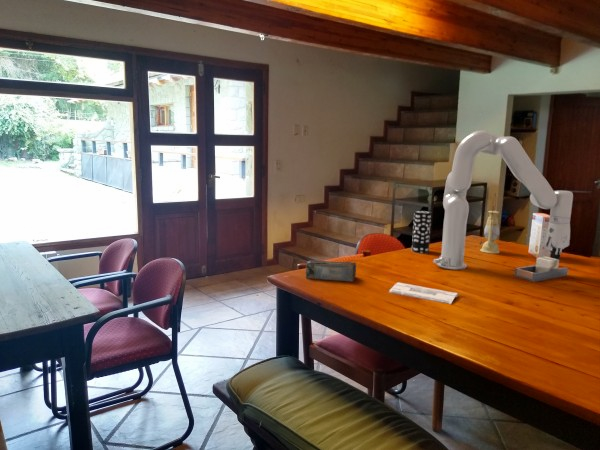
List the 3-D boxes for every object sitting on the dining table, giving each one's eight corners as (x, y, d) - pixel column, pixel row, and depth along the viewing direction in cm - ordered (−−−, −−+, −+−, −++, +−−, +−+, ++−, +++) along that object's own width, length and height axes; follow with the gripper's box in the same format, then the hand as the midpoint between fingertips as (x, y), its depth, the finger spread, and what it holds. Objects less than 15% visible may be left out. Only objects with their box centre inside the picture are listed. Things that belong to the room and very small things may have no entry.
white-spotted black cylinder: (427, 249, 233) (429, 211, 230) (430, 253, 225) (432, 213, 222) (410, 249, 234) (413, 210, 231) (412, 252, 226) (415, 212, 223)
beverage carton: (309, 273, 186) (309, 257, 185) (356, 277, 182) (356, 261, 181) (305, 278, 179) (305, 262, 178) (354, 282, 175) (354, 266, 174)
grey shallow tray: (534, 281, 180) (535, 273, 180) (514, 276, 188) (514, 268, 188) (567, 275, 191) (568, 267, 190) (546, 270, 199) (547, 262, 198)
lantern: (480, 248, 240) (485, 191, 235) (500, 250, 235) (506, 192, 230) (477, 252, 230) (482, 193, 225) (498, 255, 225) (504, 194, 220)
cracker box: (551, 260, 217) (556, 217, 213) (537, 259, 218) (542, 216, 214) (540, 253, 230) (545, 212, 227) (527, 253, 231) (532, 212, 228)
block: (548, 275, 187) (550, 261, 186) (535, 271, 192) (536, 257, 191) (557, 273, 190) (559, 259, 189) (543, 270, 195) (545, 256, 194)
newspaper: (458, 296, 163) (459, 289, 162) (450, 309, 153) (451, 302, 152) (397, 284, 174) (398, 278, 174) (386, 296, 164) (386, 290, 164)
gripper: (557, 222, 183) (552, 267, 186) (578, 220, 190) (573, 263, 193) (540, 220, 189) (535, 262, 193) (561, 217, 197) (556, 259, 200)
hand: (554, 262), depth 193 cm, fingers closed
